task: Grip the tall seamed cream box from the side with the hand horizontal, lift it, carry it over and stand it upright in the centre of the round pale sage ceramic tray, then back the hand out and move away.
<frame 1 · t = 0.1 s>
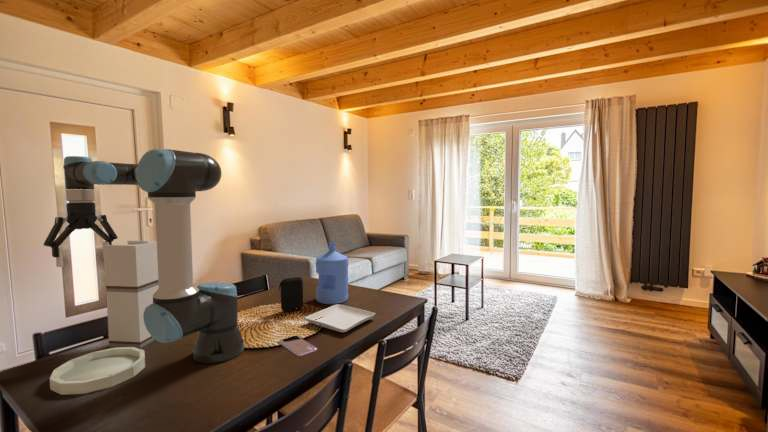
hand: (84, 263, 122), 28 cm above the table, tool pointing down, fingers open, 13 cm apart
tall seamed cream box: (137, 341, 124), on the table
black rounded block: (291, 311, 156), on the table
mobile phone: (297, 347, 121), on the table
water jug: (332, 300, 171), on the table
round tray: (101, 373, 102), on the table
salad plate: (340, 323, 143), on the table
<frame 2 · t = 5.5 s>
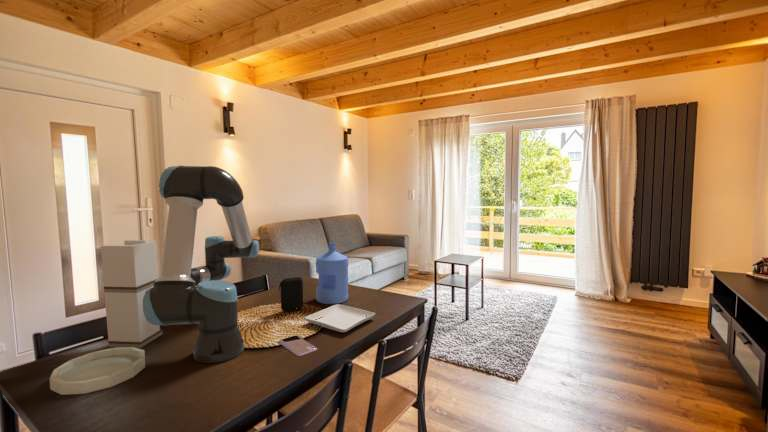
hand: (141, 290, 126), 18 cm above the table, tool horizontal, fingers open, 13 cm apart
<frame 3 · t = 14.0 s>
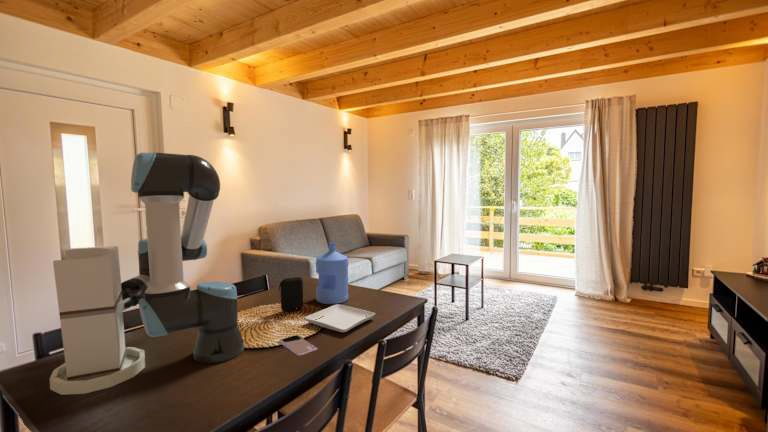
hand: (88, 310, 97), 20 cm above the table, tool horizontal, fingers open, 13 cm apart
tall seamed cream box: (99, 368, 102), point 2 cm above the table, touching gripper, round tray
everything else where it was.
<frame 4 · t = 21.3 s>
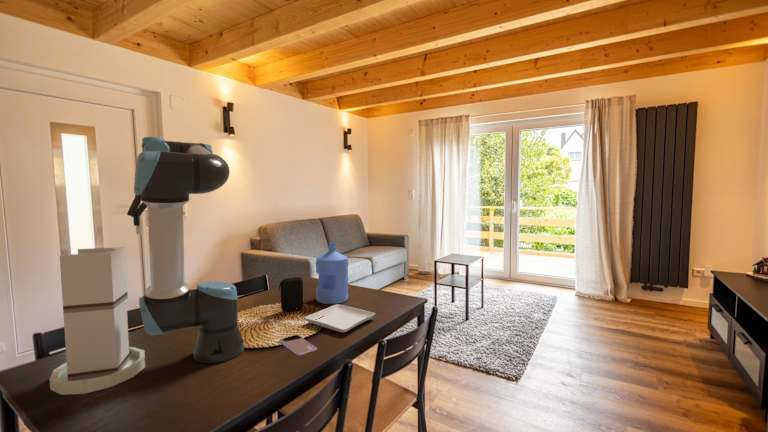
hand: (157, 232, 138), 37 cm above the table, tool pointing down, fingers open, 13 cm apart
tall seamed cream box: (101, 369, 103), point 1 cm above the table, touching round tray
everything else where it was.
at the end: tall seamed cream box inside the target area on the round tray (0.9 cm from its centre), point 0.8 cm above the round tray's base; tall seamed cream box tilted 0°; the gripper is holding nothing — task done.
